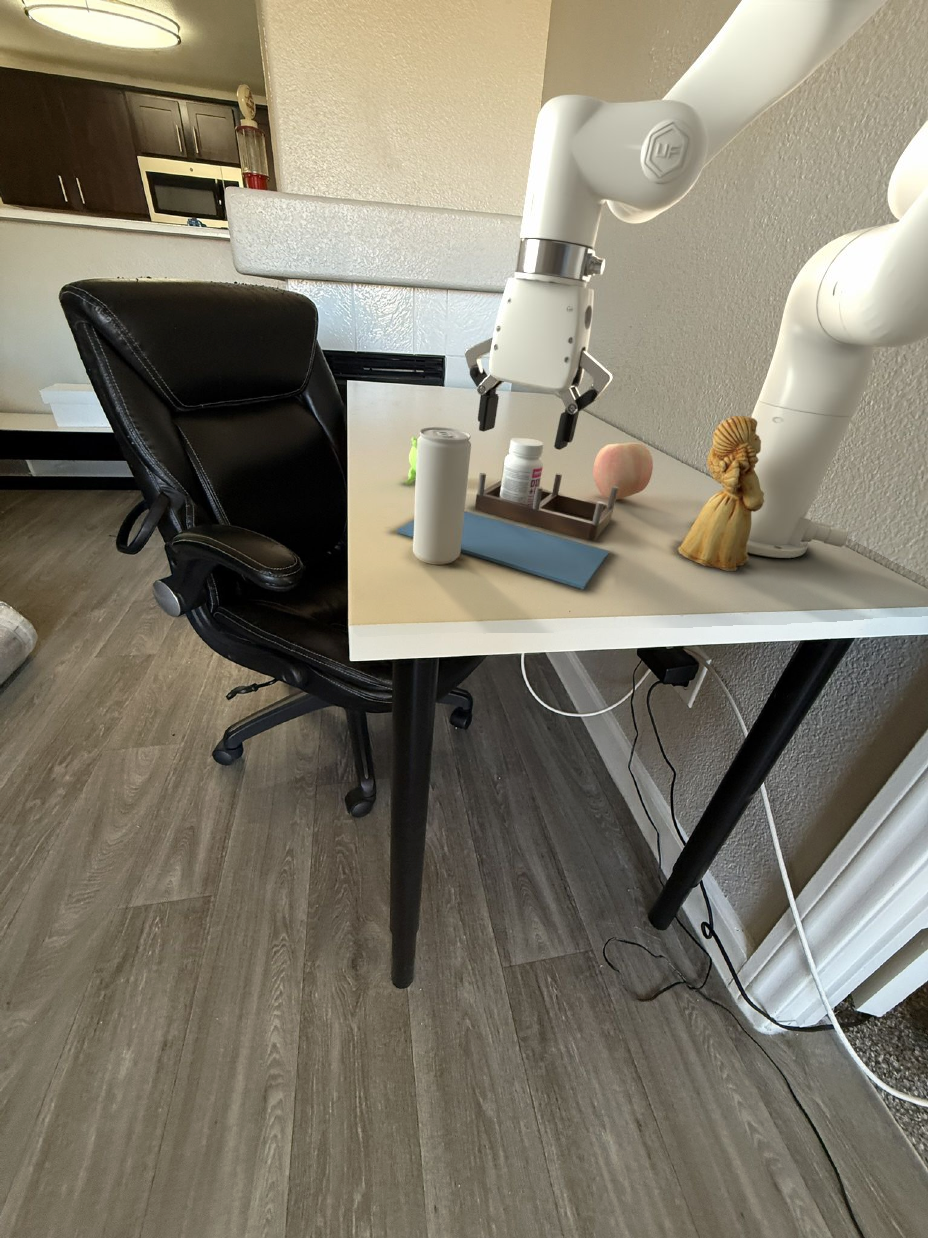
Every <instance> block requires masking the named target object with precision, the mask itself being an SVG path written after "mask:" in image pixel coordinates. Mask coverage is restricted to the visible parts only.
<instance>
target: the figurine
mask: <svg viewBox="0 0 928 1238" xmlns="http://www.w3.org/2000/svg"><path fill="white" fill-rule="evenodd" d="M717 425H718V426H717V427H716V429H715V430H714V431H715V432H714V433H713V436H712V447H711V448H710V449H709V452H708V455H707V459H706V462H707V463H706V464H707V468H708V470H709V471H710V474H711V475H712V478H713V479H714V480H715V482H717V483H718V484H721V486H722V488H723V489H721V490H719V491H718V492H717V491H716V493H715V494H714V495H712V496H711V497H710V498H709V499H708V500H707V502H706V503H705V505H704V506H703V508H702V509H701V510H700V512H699V514H698V515H697V517H696V519H695V520H694V522H693V524H692V525H691V528H690V529H689V531H688V533H687V535H686V537H685V538H684V539H683V541H682V542H681V545H680V546H678V548H677V550H678V553H679V554H680V555H681V556H682V557H684V558H686V559H688V560H690V561H692V562H695V563H697V564H699V565H701V566H703V567H708V568H715V569H716V568H717V569H718V570H723V571H726V572H734V571H737V568H738V567H737V566H743V565H745V563H746V562H747V561H748V560H749V553H747V551H746V545H747V541H748V538H749V535H750V530H751V512H752V511H753V512H756V511H758V510H759V509H761V508H762V505H763V503H764V497H763V496H764V492H762V491H761V489H760V483H759V479H758V476H757V474H756V473H755V470H754V468H755V464H756V463H757V462H758V461H759V460H758V457H756V454H758V453H760V452H761V440H760V439H759V436H758V435H756V427H757V421H756V420H755V419H754V418H751V417H750V416H746V415H742V416H741V415H734V416H731V417H728V418H727V419H725V420H723V421H722V422H721V423H719V424H717Z"/></svg>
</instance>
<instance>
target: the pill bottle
mask: <svg viewBox="0 0 928 1238" xmlns="http://www.w3.org/2000/svg"><path fill="white" fill-rule="evenodd" d="M508 449H509V450H508V452H509V454H507V455H506V456H505V458H504V461H505V462H504V461H503V462H504V469H503V468H502V470H503V476H502V475H501V477H502V484H501V491H500V497H499V498H502V499H506V500H510V501H514V502H518V503H522V504H526V505H530V506H533V501H534V495H535V490H536V487H540V484H541V478H542V473H543V468H544V461H543V460H542V458H541V457H542V455H543V451H544V442H542V441H540V440H537V439H533V438H528V437H513V438H511V439H510V441H509V447H508Z"/></svg>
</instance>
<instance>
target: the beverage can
mask: <svg viewBox="0 0 928 1238" xmlns="http://www.w3.org/2000/svg"><path fill="white" fill-rule="evenodd" d="M419 435H420V436H418V438H417V440H418V441H417V462H416V479H415V486H414V487H415V488H414V510H413V511H414V513H413V515H414V517H413V521H414V537H412V538H413V539H412V553H413V554H414V556H415V557H416V559H418V560H419V561H421V562H423V563H426V564H429V565H440V566H441V565H442V566H443V565H448V564H451V563H454V562H455V561H456V560H457V559H458V558H459V557H460V555H461V552H460V551H461V541H462V531H463V521H464V511H465V512H466V501H467V493H468V492H467V490H468V480H469V469H470V462H471V461H470V460H471V449H472V442H471V441H470V439H471V435H470V433H469V432H466V431H465V430H464V431H463V430H460V429H456V428H452V427H451V428H450V427H443V426H442V427H440V426H433V427H431V426H430V427H424V428H420V430H419Z"/></svg>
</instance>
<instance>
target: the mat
mask: <svg viewBox="0 0 928 1238" xmlns="http://www.w3.org/2000/svg"><path fill="white" fill-rule="evenodd" d="M397 534H401V535H404V536H407V537H410V538H414V520H413V521H410V522H408V523H407V524H405V525H403V526H401V527H399V528H397ZM460 553H463V554H465V555H469V556H472V557H476V558H480V559H482V560H485V561H489V562H492V563H496V564H499V565H502V566H505V567H508V568H512V569H515V570H519V571H522V572H525V573H529V574H531V575H535V576H538V577H540V578H541V577H542V578H544V579H548V580H551V581H555V582H557V583H561V584H563V585H568V586H571V587H574V588H577V589H580V590H584V589H585V588H586V586H587V585H588V584H589V582H590V581H591V580H592V578H593V577H594V576H595V574H596V572H597V571H598V570H599V568H600V567H601V566H602V564H603V563H604V562H605V560H606V559H607V557H608V556H609V555H610V551H609V550H607V549H602V548H599V547H595V546H592V545H588V544H585V543H581V542H577V541H574V540H570V539H566V538H563V537H559V536H556V535H552V534H548V533H545V532H542V531H538V530H533V529H530V528H526V527H522V526H519V525H515V524H512V523H508V522H504V521H501V520H498V519H494V518H490V517H486V516H483V515H479V514H475V513H473V512H468V511H466V510H465V511H464V521H463V531H462V541H461V551H460Z"/></svg>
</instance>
